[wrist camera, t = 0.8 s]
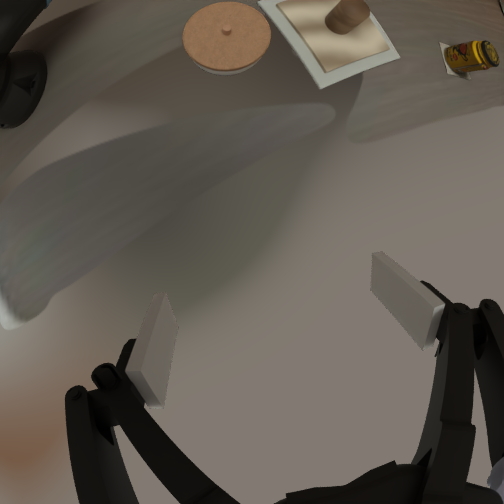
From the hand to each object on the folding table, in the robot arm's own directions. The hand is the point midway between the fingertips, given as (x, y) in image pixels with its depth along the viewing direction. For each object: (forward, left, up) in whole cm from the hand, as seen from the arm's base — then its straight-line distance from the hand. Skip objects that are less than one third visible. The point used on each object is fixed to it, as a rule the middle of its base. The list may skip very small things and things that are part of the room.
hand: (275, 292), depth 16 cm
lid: (-18, +28, -25) cm, 42 cm away
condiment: (-5, +54, -26) cm, 60 cm away
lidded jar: (-21, +10, -26) cm, 35 cm away
